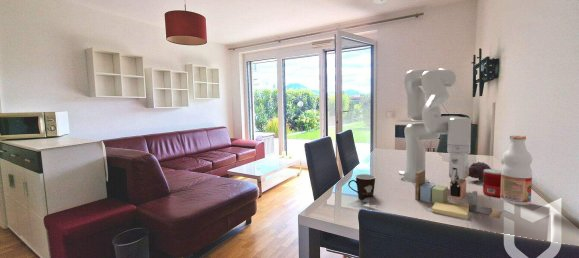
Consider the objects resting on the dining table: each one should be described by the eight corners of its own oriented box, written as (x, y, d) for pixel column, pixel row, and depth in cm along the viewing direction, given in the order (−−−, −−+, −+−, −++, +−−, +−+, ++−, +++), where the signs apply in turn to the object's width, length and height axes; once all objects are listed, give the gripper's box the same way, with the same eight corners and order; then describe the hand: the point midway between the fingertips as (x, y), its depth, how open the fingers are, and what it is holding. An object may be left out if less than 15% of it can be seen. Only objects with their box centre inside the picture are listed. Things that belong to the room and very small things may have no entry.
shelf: (415, 202, 110) (415, 173, 109) (422, 198, 116) (422, 169, 115) (499, 222, 90) (500, 186, 89) (502, 215, 96) (503, 181, 95)
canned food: (509, 198, 113) (510, 173, 112) (488, 197, 114) (489, 172, 113) (498, 192, 120) (499, 169, 119) (479, 191, 122) (480, 168, 121)
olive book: (431, 202, 106) (431, 188, 106) (436, 198, 111) (437, 184, 110) (442, 205, 103) (442, 190, 103) (447, 200, 108) (447, 186, 107)
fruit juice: (495, 199, 112) (498, 134, 109) (522, 200, 109) (525, 134, 107) (506, 207, 103) (509, 137, 101) (536, 209, 100) (539, 137, 98)
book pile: (426, 214, 98) (426, 206, 98) (434, 207, 105) (434, 200, 104) (466, 224, 89) (467, 216, 89) (472, 216, 95) (473, 208, 95)
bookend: (468, 211, 97) (469, 195, 96) (472, 205, 102) (473, 190, 101) (488, 215, 92) (489, 199, 92) (492, 209, 97) (492, 194, 97)
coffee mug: (375, 195, 121) (375, 174, 120) (375, 202, 112) (375, 179, 112) (350, 193, 124) (349, 173, 124) (348, 199, 116) (347, 178, 115)
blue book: (420, 200, 109) (420, 186, 109) (425, 196, 114) (425, 182, 113) (430, 202, 107) (430, 188, 106) (435, 198, 111) (435, 184, 111)
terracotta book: (465, 195, 103) (466, 180, 102) (461, 199, 98) (462, 183, 98) (454, 192, 106) (454, 178, 105) (449, 196, 101) (450, 181, 101)
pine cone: (469, 183, 134) (469, 164, 133) (457, 178, 144) (457, 160, 143) (503, 182, 134) (504, 163, 133) (489, 177, 144) (489, 159, 143)
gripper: (464, 152, 92) (463, 202, 93) (475, 147, 104) (474, 190, 105) (440, 150, 97) (440, 197, 99) (453, 145, 109) (453, 187, 111)
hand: (457, 193), depth 102 cm, fingers closed on terracotta book, 6 cm apart
